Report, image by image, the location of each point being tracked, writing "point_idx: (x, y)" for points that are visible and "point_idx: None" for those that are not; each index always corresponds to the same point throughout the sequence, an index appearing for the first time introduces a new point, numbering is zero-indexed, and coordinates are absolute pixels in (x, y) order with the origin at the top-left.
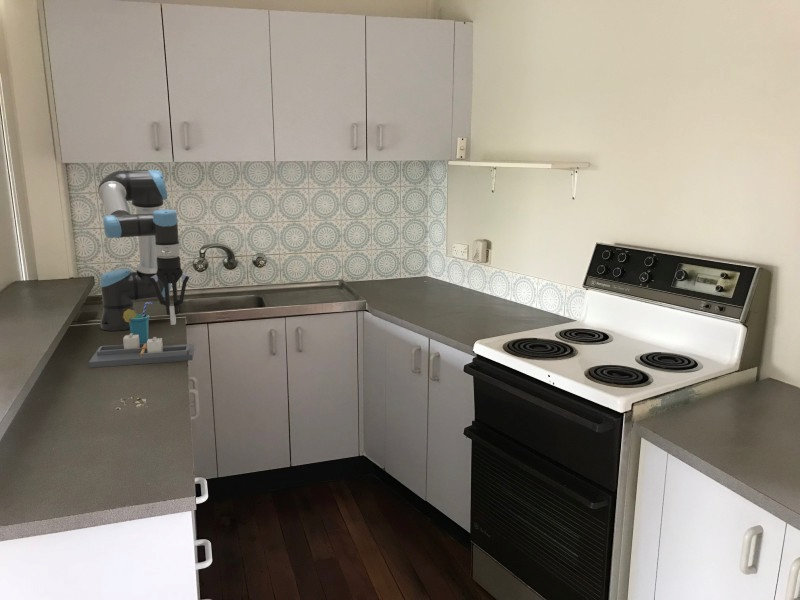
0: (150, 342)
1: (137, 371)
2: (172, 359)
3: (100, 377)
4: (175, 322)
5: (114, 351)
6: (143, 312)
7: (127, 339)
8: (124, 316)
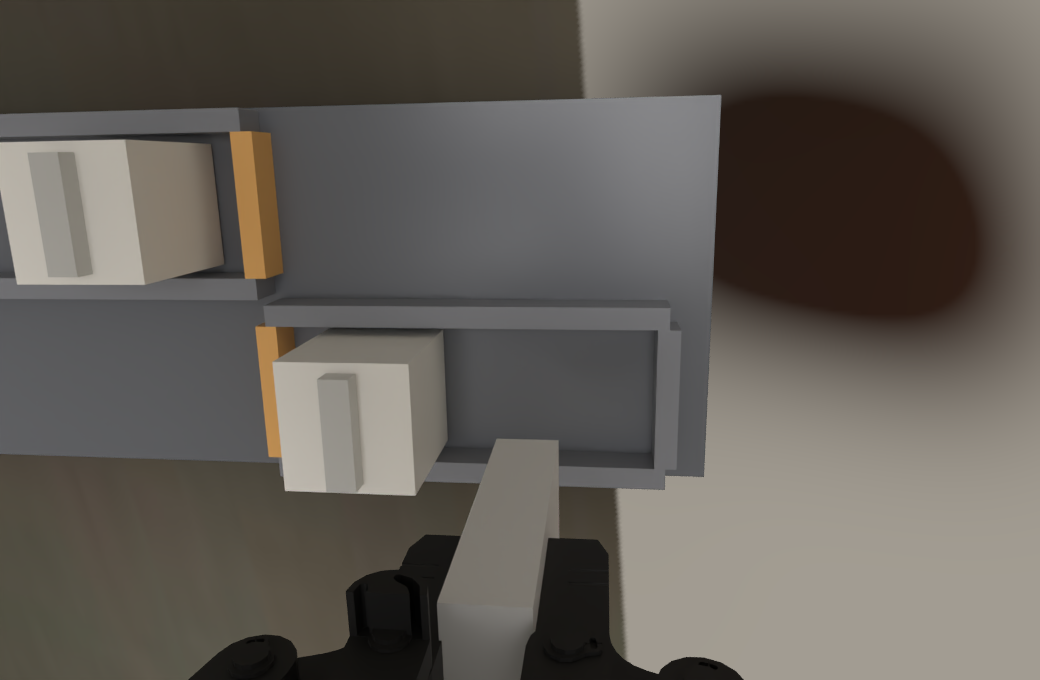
0: (320, 491)
1: (319, 606)
2: None
3: (116, 655)
4: (557, 528)
5: (33, 296)
6: None
7: (63, 282)
8: None
